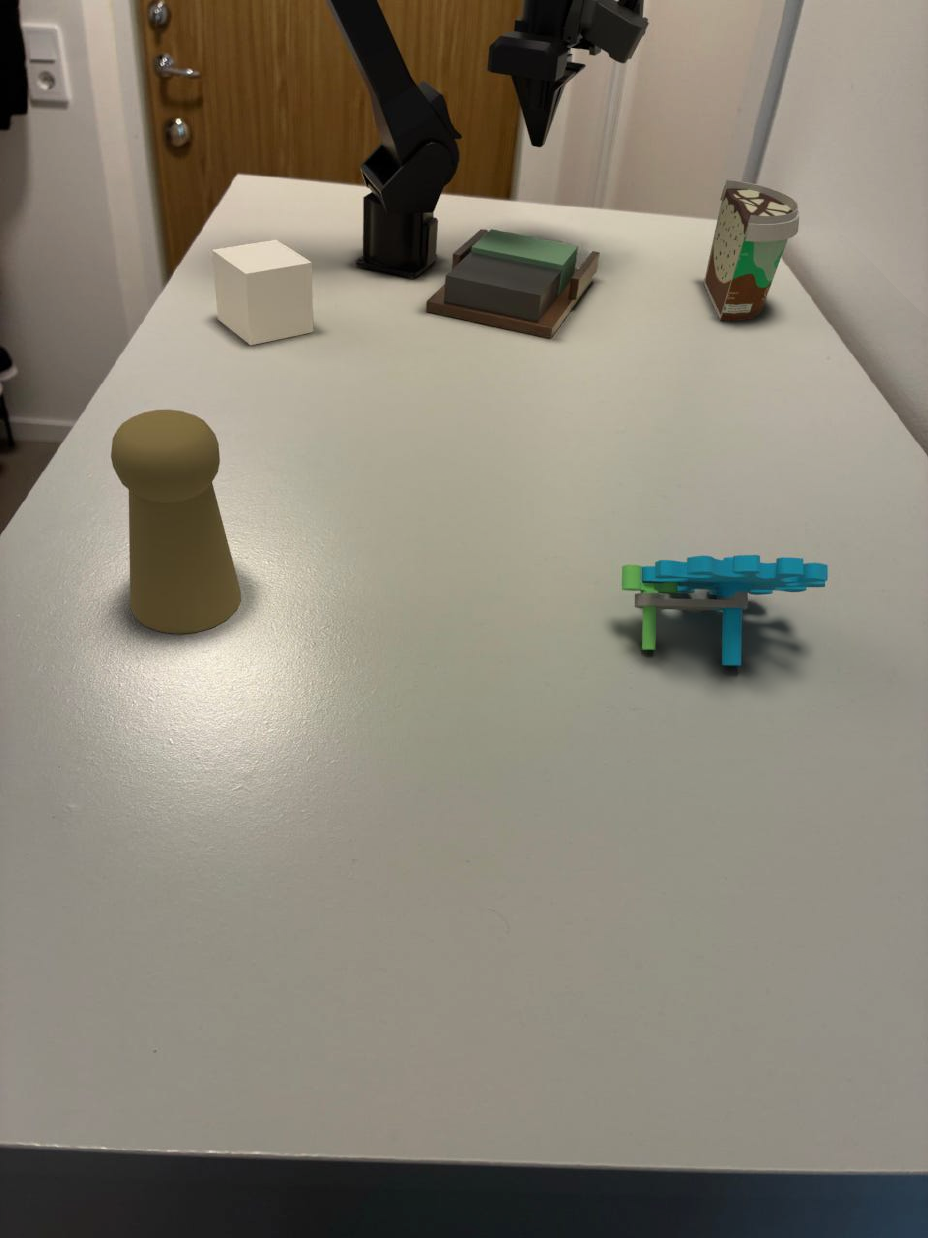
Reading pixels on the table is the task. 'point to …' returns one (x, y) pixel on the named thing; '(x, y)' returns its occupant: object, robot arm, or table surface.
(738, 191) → the food container
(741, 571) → the gear
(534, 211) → the table surface
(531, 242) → the sage pad
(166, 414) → the cork
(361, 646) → the table surface
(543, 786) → the table surface
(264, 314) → the cream cube
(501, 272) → the frame
